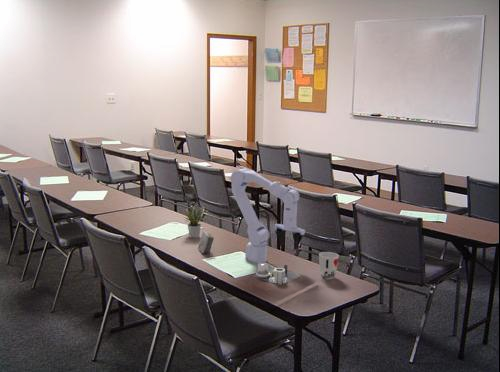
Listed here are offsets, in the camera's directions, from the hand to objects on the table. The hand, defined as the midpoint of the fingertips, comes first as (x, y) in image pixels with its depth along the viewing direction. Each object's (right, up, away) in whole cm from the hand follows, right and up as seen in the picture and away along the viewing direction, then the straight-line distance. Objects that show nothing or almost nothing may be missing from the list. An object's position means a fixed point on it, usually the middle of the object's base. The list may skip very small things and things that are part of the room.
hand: (288, 247), depth 230 cm
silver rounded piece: (-12, -11, -11) cm, 19 cm away
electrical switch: (-39, -5, +24) cm, 46 cm away
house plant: (-46, 0, +49) cm, 67 cm away
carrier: (-6, -12, -10) cm, 17 cm away
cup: (+16, -12, -7) cm, 21 cm away
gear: (-5, -12, -17) cm, 21 cm away
